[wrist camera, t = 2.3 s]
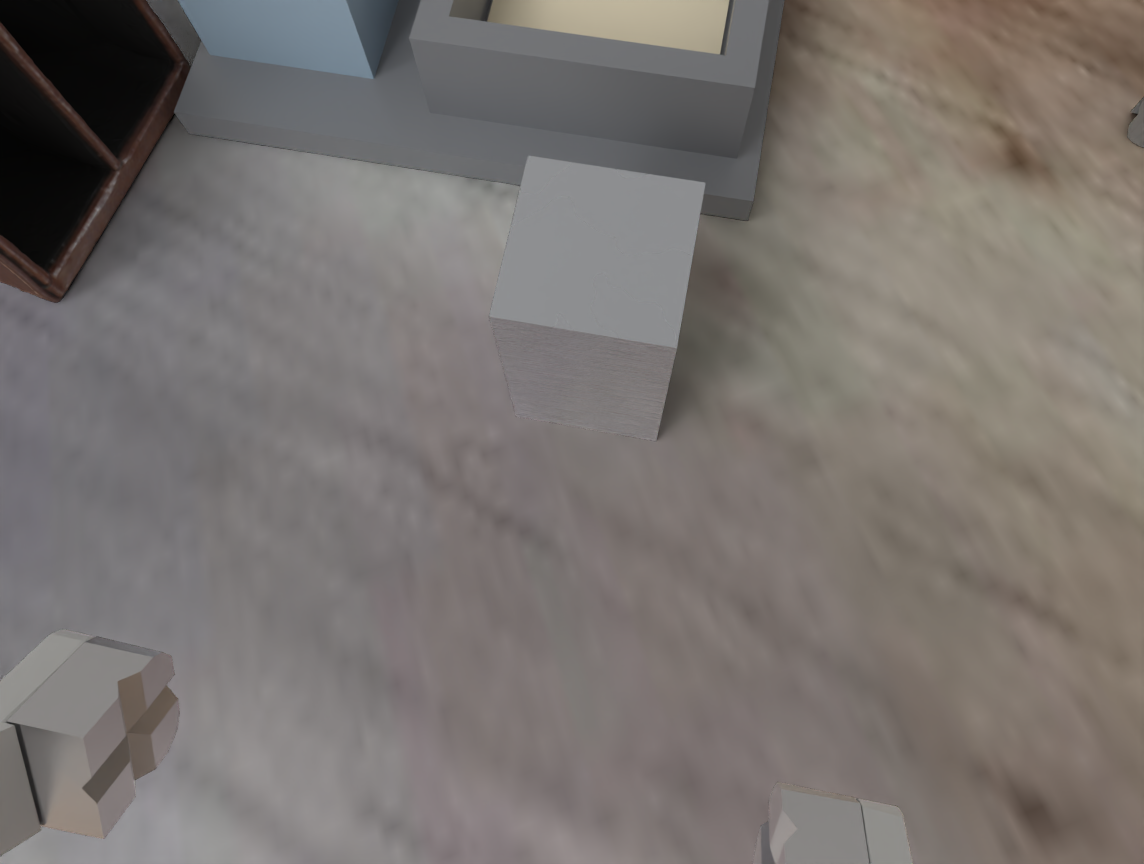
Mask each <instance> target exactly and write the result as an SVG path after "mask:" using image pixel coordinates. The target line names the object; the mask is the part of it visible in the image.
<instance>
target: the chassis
mask: <svg viewBox="0 0 1144 864" xmlns="http://www.w3.org/2000/svg"><path fill="white" fill-rule="evenodd" d="M178 2H179V3H180V5H181V7H182V9H183V10H184V12H185V14H186V15H187V17H188V19H189V20H190V22H191V24H192V25H193V27H194V29H195V30H196V32H197V34H198V36H199V37H200V39H201V43H200V45H199V48H198V50H197V53H196V56H195V58H194V61H193V63H192V66H191V68H190V71H189V74H188V76H187V79H186V81H185V84H184V87H183V89H182V92H181V94H180V97H179V100H178V102H177V105H176V107H175V110H174V113H175V115H176V116H177V117H178V119H179V120H180V122H181V123H182V124H183V126H184V127H185V129H186V130H187V132H188V133H189V134H194V135H201V136H207V137H214V138H220V139H226V140H233V141H239V142H246V143H252V144H258V145H265V146H271V147H278V148H284V149H290V150H297V151H303V152H310V153H316V154H323V155H329V156H335V157H342V158H348V159H355V160H361V161H367V162H374V163H380V164H387V165H393V166H399V167H406V168H412V169H419V170H425V171H432V172H438V173H444V174H451V175H457V176H464V177H470V178H476V179H483V180H489V181H496V182H502V183H508V184H515V185H521V182H522V178H523V174H524V169H525V165H526V161H527V157H528V156H535V157H541V158H548V159H554V160H561V161H567V162H574V163H580V164H587V165H594V166H600V167H607V168H613V169H620V170H626V171H633V172H639V173H646V174H652V175H659V176H665V177H672V178H679V179H685V180H692V181H698V182H705V189H704V195H703V200H702V206H701V212H700V213H701V214H707V215H714V216H720V217H726V218H733V219H739V220H746V221H748V217H749V214H750V211H751V208H752V205H753V201H754V195H755V188H756V182H757V175H758V169H759V162H760V156H761V149H762V143H763V136H764V130H765V123H766V117H767V110H768V104H769V97H770V91H771V84H772V78H773V71H774V65H775V58H776V52H777V45H778V39H779V32H780V26H781V19H782V13H783V6H784V0H178Z"/></svg>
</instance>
